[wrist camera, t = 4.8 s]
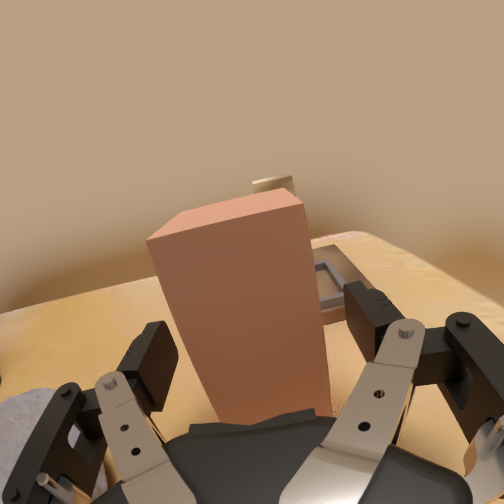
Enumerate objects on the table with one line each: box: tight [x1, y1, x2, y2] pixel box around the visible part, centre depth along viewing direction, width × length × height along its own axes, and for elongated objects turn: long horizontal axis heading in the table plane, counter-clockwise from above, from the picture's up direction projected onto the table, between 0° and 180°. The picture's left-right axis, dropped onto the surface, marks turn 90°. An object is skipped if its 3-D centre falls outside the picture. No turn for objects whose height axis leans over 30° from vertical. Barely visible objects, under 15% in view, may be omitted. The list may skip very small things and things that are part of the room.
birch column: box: [252, 174, 296, 197], centre depth 31 cm, size 4×4×10 cm
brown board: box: [312, 244, 375, 325], centre depth 29 cm, size 15×15×1 cm
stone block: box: [0, 388, 108, 504], centre depth 10 cm, size 12×5×10 cm
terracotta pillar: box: [146, 188, 332, 425], centre depth 13 cm, size 5×5×12 cm
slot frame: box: [314, 259, 347, 310], centre depth 26 cm, size 8×8×1 cm
